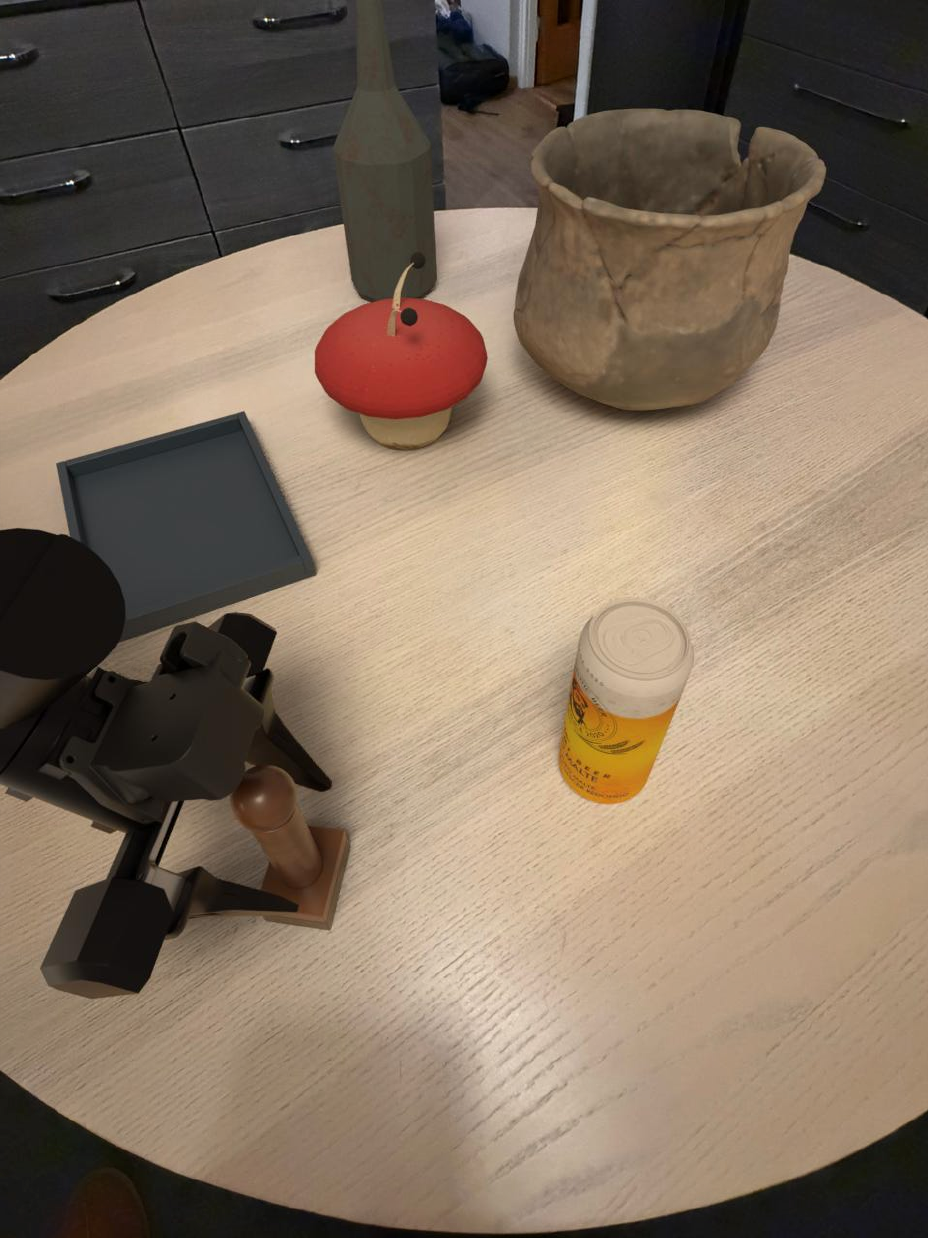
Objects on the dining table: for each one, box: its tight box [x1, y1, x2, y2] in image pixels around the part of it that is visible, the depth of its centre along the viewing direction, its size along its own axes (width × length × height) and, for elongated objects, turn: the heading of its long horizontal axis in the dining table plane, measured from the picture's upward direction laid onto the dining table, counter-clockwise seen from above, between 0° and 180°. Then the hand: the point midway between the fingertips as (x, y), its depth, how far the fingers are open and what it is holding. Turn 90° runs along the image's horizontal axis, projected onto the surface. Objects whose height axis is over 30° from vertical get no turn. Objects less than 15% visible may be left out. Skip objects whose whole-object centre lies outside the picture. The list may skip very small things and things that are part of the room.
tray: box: [55, 410, 317, 644], centre depth 65 cm, size 18×22×2 cm
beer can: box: [558, 596, 695, 805], centre depth 45 cm, size 6×6×15 cm
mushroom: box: [314, 252, 489, 451], centre depth 68 cm, size 16×16×15 cm
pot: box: [513, 108, 827, 412], centre depth 70 cm, size 25×24×21 cm
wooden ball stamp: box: [229, 765, 351, 931], centre depth 41 cm, size 5×4×14 cm
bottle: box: [332, 0, 438, 303], centre depth 79 cm, size 10×10×30 cm
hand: (312, 846), depth 41 cm, fingers open, 7 cm apart
